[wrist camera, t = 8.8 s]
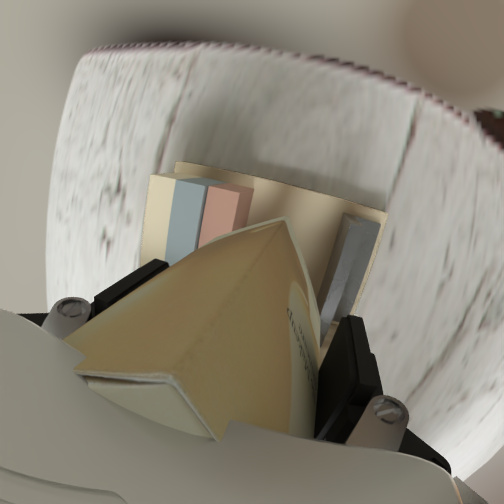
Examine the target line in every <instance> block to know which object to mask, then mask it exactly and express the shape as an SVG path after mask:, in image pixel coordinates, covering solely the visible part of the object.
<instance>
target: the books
mask: <svg viewBox="0 0 504 504" xmlns="http://www.w3.org/2000/svg"><path fill="white" fill-rule="evenodd" d="M253 192H254V189H253V188H249V187H245V186H240V185H236V184H232V183H227V182H223V181H218V180H213V179H209V178H204V177H199V176H194V175H189V174H184V173H163V174H151V175H150V181H149V188H148V195H147V202H146V210H145V219H144V228H143V238H142V249H141V261H140V267H142V266H143V265H145V264H147V263H148V262H150V261H152V260H153V259H155V258H156V259H159V260H162V261H166V262H168V263H169V266H172V265H173V264H175V263H176V262H178V261H180V260H181V259H183V258H184V257H186V256H187V255H188V254H190V253H191V252H193V251H195V250H196V249H198V248H199V247H201V246H203V245H204V244H206V243H207V242H209V241H211V240H212V239H214V238H215V237H218V236H220V235H223V234H226V233H229V232H232V231H235V230H238V229H241V228H245V227H246V224H247V220H248V215H249V211H250V206H251V201H252V197H253Z"/></svg>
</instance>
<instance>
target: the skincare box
mask: <svg viewBox="0 0 504 504" xmlns="http://www.w3.org/2000/svg"><path fill="white" fill-rule="evenodd" d="M62 341H64V342H66V343H67V344H69V345H70V346H72V347H74V348H76V349H77V350H79V351H80V352H82V353H83V354H84V355H85V356H86V357H87V358H85V359H84V360H83V361H82V362H81V363H79V364H78V365H77V366H76V367H75V368H74V369H73V372H74V373H76V374H79V375H83V376H84V377H85V379H86V380H87V382H88V387H89V388H90V389H92V390H93V391H95V392H96V393H98V394H100V395H101V396H103V397H105V398H107V399H108V400H110V401H112V402H114V403H116V404H118V405H120V406H122V407H124V408H126V409H128V410H130V411H132V412H134V413H137V414H139V415H141V416H143V417H145V418H148V419H150V420H153V421H155V422H157V423H160V424H162V425H165V426H168V427H171V428H174V429H177V430H180V431H183V432H187V433H190V434H193V435H198V436H204V437H210V438H214V439H215V440H216V441H217V442H220V441H221V439H222V438H223V435H224V433H225V430H226V428H227V426H228V423H229V421H230V419H231V420H236V421H241V422H246V423H250V424H253V425H257V426H260V427H264V428H268V429H272V430H276V431H280V432H284V433H288V434H293V435H297V436H302V437H307V438H312V439H314V428H315V416H316V404H317V390H318V371H319V350H320V315H319V311H318V307H317V302H316V298H315V295H314V291H313V287H312V284H311V280H310V277H309V274H308V270H307V267H306V264H305V261H304V258H303V255H302V253H301V250H300V247H299V244H298V241H297V238H296V236H295V233H294V230H293V227H292V225H291V222H290V219H289V217H288V216H283V217H279V218H276V219H272V220H268V221H265V222H261V223H258V224H255V225H251V226H248V227H245V228H241V229H238V230H235V231H232V232H229V233H226V234H223V235H220V236H218V237H215V238H214V239H212V240H211V241H209V242H207V243H206V244H204V245H203V246H201V247H199V248H198V249H196V250H195V251H193V252H191V253H190V254H188V255H187V256H186V257H184V258H183V259H181V260H180V261H178V262H176V263H175V264H173V265H172V266H170V267H169V268H167V269H166V270H164V271H163V272H161V273H159V274H158V275H156V276H155V277H153V278H152V279H150V280H149V281H147V282H146V283H144V284H143V285H141V286H140V287H138V288H137V289H135V290H134V291H132V292H131V293H130V294H128V295H127V296H125V297H124V298H122V299H121V300H119V301H118V302H116V303H115V304H113V305H112V306H110V307H109V308H107V309H106V310H104V311H103V312H101V313H100V314H99V315H97V316H96V317H94V318H93V319H91V320H90V321H88V322H87V323H86V324H84V325H83V326H81V327H80V328H79V329H77V330H76V331H74V332H73V333H72V334H70V335H69V336H67V337H66V338H64V339H63V340H62Z"/></svg>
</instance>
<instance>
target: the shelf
mask: <svg viewBox="0 0 504 504" xmlns="http://www.w3.org/2000/svg"><path fill="white" fill-rule="evenodd" d="M174 173H184V174H189V175H194V176H199V177H204V178H209V179H213V180H218V181H223V182H227V183H232V184H236V185H240V186H245V187H249V188H253V189H254V192H253V197H252V201H251V206H250V211H249V215H248V220H247V224H246V227H248V226H251V225H255V224H258V223H261V222H265V221H268V220H272V219H276V218H279V217H283V216H288V217H289V219H290V222H291V225H292V227H293V230H294V233H295V236H296V238H297V241H298V244H299V247H300V250H301V253H302V255H303V258H304V261H305V264H306V267H307V270H308V274H309V277H310V280H311V284H312V287H313V291H314V295H315V298H316V299H317V296H318V293H319V290H320V287H321V284H322V281H323V278H324V275H325V272H326V269H327V266H328V262H329V259H330V256H331V253H332V249H333V246H334V243H335V239H336V236H337V232H338V229H339V226H340V222H341V218H342V215H343V212H344V213H347V214H351V215H354V216H357V217H361V218H364V219H367V220H371V221H374V222H377V223H380V224H381V227H380V230H379V233H378V236H377V239H376V243H375V246H374V249H373V252H372V255H371V258H370V261H369V264H368V267H367V269H366V272H365V275H364V278H363V281H362V283H361V286H360V289H359V291H358V294H357V297H356V299H355V302H354V304H353V307H352V310H351V312H350V315H354V312H355V310H356V307H357V305H358V302H359V300H360V297H361V295H362V292H363V289H364V287H365V284H366V281H367V279H368V276H369V273H370V270H371V267H372V265H373V262H374V259H375V256H376V253H377V250H378V247H379V244H380V240H381V237H382V234H383V231H384V228H385V224H386V221H387V218H388V214H387V213H386V212H383V211H380V210H377V209H374V208H371V207H368V206H364V205H361V204H358V203H354V202H351V201H348V200H344V199H341V198H337V197H334V196H330V195H327V194H323V193H320V192H316V191H312V190H309V189H305V188H301V187H297V186H293V185H289V184H285V183H281V182H277V181H273V180H269V179H265V178H260V177H256V176H252V175H247V174H243V173H238V172H233V171H229V170H224V169H219V168H214V167H209V166H204V165H199V164H193V163H188V162H181V161H176V163H175V168H174ZM338 325H339V322H336V321H333V320H332V322H331V324H330V327H329V329H328V332H327V334H326V337H325V339H324V342H323V344H322V346H321V347H320V350H319V368H320V366H321V364H322V362H323V359H324V357H325V355H326V353H327V350H328V348H329V346H330V344H331V341H332V339H333V337H334V334H335V332H336V329H337V327H338Z"/></svg>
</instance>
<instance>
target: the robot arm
mask: <svg viewBox="0 0 504 504" xmlns="http://www.w3.org/2000/svg"><path fill="white" fill-rule="evenodd" d="M169 267H170V266H169V263H168V262H166V261H162V260H159V259H156V258H155V259H153V260H152V261H150V262H148V263H147V264H145V265H143V266H142V267H140V268H139V269H137V270H135V271H134V272H132V273H131V274H129V275H127V276H126V277H124V278H123V279H121V280H119V281H118V282H116V283H115V284H113V285H112V286H110V287H109V288H107V289H105V290H104V291H102V292H101V293H99V294H98V295H96V296H95V297H94V302H92V303H91V304H90V303H89V302H88V301H86V300H84V299H82V298H78V297H67V298H63V299H61V300H59V301H57V302H56V303H55V304H54V306H53V307H52V309H51V311H50V312H49V313H36V314H15V313H12V312H10V311H6V310H3V309H0V504H488V503H487V501H486V500H484V499H483V498H482V497H481V496H479V495H478V494H477V493H476V492H475V491H473V490H472V489H471V488H470V487H468V486H467V485H466V484H465V483H464V482H463V481H461V480H460V479H459V478H458V477H457V476H456V477H454V478H452V477H451V467H450V465H449V463H448V461H447V460H446V459H445V458H444V457H443V456H441V455H440V454H439V453H438V452H436V451H435V450H434V449H433V448H431V447H430V446H429V445H427V444H426V443H425V442H424V441H422V440H421V439H420V438H419V437H417V436H416V435H415V434H414V433H412V432H411V431H410V430H409V429H407V428H406V427H407V424H408V421H409V413H408V410H407V408H406V407H405V405H404V404H402V403H401V402H400V401H399V400H397V399H396V398H393V397H391V396H386V395H383V390H382V385H381V380H380V376H379V371H378V367H377V362H376V358H375V355H374V354H373V353H371V352H370V348H369V343H368V339H367V335H366V331H365V326H364V322H363V319H362V318H361V317H357V316H353V315H350V314H348V315H347V317H342V318H341V320H340V322H339V325H338V327H337V329H336V332H335V334H334V337H333V339H332V341H331V344H330V346H329V348H328V350H327V353H326V355H325V357H324V359H323V362H322V364H321V366H320V368H319V371H318V390H317V404H316V416H315V428H314V439H312V438H307V437H302V436H297V435H293V434H288V433H284V432H280V431H276V430H272V429H268V428H264V427H260V426H257V425H253V424H250V423H246V422H241V421H236V420H231V419H230V421H229V423H228V426H227V428H226V430H225V433H224V435H223V438H222V439H221V441H220V442H217V441H216V440H215V439H214V438H210V437H204V436H198V435H193V434H190V433H187V432H183V431H180V430H177V429H174V428H171V427H168V426H165V425H162V424H160V423H157V422H155V421H153V420H150V419H148V418H145V417H143V416H141V415H139V414H137V413H134V412H132V411H130V410H128V409H126V408H124V407H122V406H120V405H118V404H116V403H114V402H112V401H110V400H108V399H107V398H105V397H103V396H101V395H100V394H98V393H96V392H95V391H93V390H92V389H90V388H89V387H88V382H87V380H86V379H85V377H84V376H83V375H79V374H76V373H74V372H73V369H74V368H75V367H76V366H77V365H78V364H79V363H81V362H82V361H83V360H84V359H85V358H87V357H86V356H85V355H84V354H83V353H82V352H80V351H79V350H77V349H76V348H74V347H72V346H70V345H69V344H67V343H66V342H64V341H62V340H63V339H64V338H66V337H67V336H69V335H70V334H72V333H73V332H74V331H76V330H77V329H79V328H80V327H81V326H83V325H84V324H86V323H87V322H88V321H90V320H91V319H93V318H94V317H96V316H97V315H99V314H100V313H101V312H103V311H104V310H106V309H107V308H109V307H110V306H112V305H113V304H115V303H116V302H118V301H119V300H121V299H122V298H124V297H125V296H127V295H128V294H130V293H131V292H132V291H134V290H135V289H137V288H138V287H140V286H141V285H143V284H144V283H146V282H147V281H149V280H150V279H152V278H153V277H155V276H156V275H158V274H159V273H161V272H163V271H164V270H166V269H167V268H169Z"/></svg>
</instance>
